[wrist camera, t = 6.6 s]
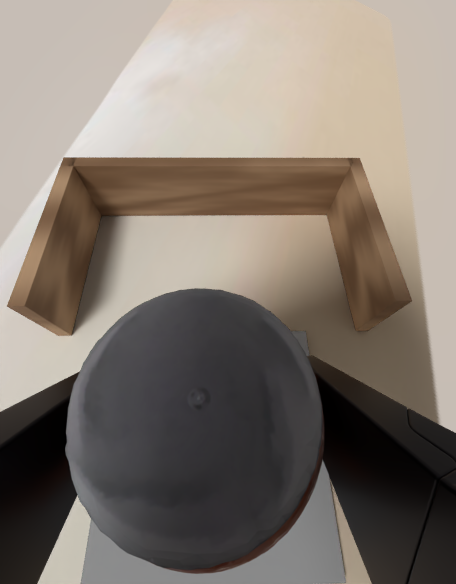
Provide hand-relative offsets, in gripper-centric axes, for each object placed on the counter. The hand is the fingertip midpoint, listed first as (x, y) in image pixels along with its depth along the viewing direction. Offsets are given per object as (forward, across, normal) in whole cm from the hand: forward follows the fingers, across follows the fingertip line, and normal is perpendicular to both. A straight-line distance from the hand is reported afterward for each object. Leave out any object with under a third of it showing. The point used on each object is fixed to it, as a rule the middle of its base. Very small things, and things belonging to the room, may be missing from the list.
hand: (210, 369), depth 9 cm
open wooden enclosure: (+15, 0, 0) cm, 15 cm away
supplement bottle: (+4, 0, +6) cm, 7 cm away
